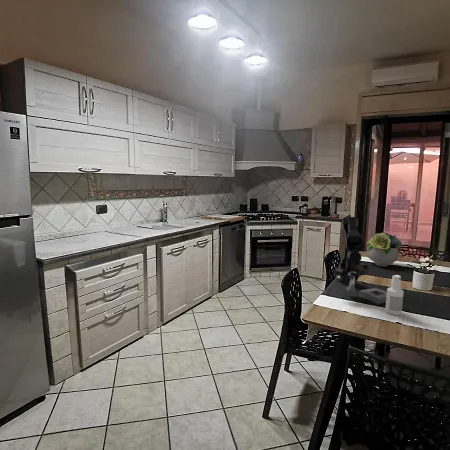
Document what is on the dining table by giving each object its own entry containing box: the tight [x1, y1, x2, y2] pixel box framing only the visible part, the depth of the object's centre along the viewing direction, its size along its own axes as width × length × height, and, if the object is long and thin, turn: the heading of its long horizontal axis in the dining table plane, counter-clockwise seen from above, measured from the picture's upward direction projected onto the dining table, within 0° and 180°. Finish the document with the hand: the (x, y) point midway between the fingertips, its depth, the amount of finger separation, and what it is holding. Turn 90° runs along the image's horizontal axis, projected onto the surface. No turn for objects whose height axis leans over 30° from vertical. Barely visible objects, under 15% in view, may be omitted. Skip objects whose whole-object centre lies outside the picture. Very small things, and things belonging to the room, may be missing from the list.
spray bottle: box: [384, 274, 404, 316], centre depth 146 cm, size 7×7×18 cm
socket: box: [358, 287, 387, 305], centre depth 165 cm, size 12×12×3 cm
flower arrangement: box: [366, 232, 403, 268], centre depth 228 cm, size 25×25×24 cm
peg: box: [345, 275, 356, 292], centre depth 167 cm, size 4×4×8 cm
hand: (350, 286), depth 167 cm, fingers closed on peg, 4 cm apart
